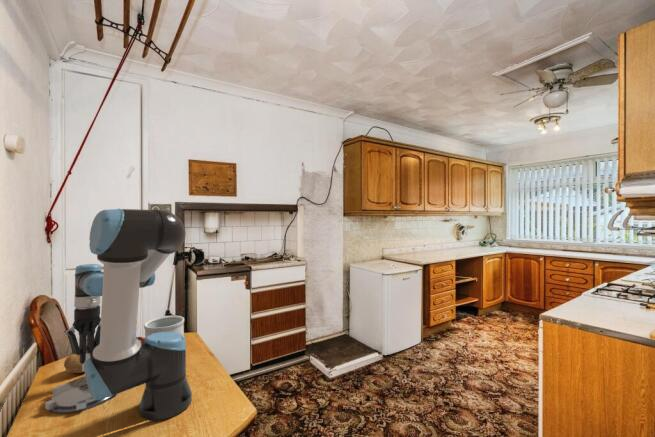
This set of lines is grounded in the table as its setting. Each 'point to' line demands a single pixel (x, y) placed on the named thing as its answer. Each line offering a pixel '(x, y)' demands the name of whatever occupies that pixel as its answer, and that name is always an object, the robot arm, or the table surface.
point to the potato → (73, 363)
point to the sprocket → (71, 395)
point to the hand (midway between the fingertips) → (85, 371)
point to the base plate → (72, 410)
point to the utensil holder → (165, 325)
